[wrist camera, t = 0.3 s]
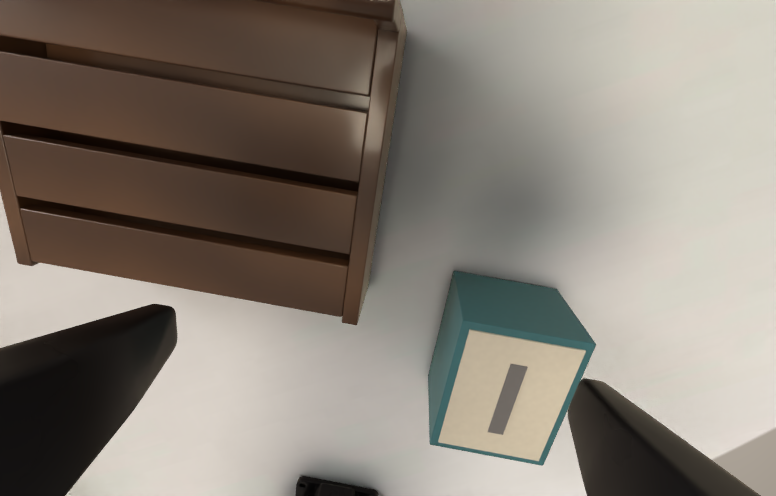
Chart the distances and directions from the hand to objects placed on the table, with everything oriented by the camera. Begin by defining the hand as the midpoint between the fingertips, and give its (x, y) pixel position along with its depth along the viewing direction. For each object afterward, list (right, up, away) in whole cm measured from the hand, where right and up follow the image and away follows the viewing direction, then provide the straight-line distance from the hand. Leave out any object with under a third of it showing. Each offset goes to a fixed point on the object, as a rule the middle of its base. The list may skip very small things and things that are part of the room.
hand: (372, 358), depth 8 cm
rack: (-9, +8, +13) cm, 17 cm away
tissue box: (+7, -3, +16) cm, 17 cm away
